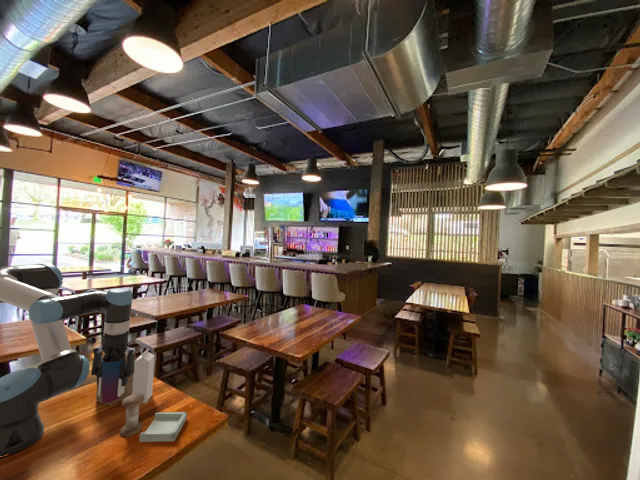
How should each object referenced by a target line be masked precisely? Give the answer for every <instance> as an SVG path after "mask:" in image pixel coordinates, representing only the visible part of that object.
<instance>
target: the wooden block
mask: <svg viewBox="0 0 640 480" xmlns="http://www.w3.org/2000/svg"><path fill="white" fill-rule="evenodd" d="M104 355H105V354H102V358H101V363H102V359H103V357H104ZM125 355H126V358H125V359H126V363H127V351H125ZM135 360H136V357H135V358H134V361H135ZM100 366H101V364H100ZM98 386H99V385H97V384H96V395H95V396H96V397H95V398H96V402H98V403H101V404H104V405H106V406H109V407H113V406H115V405H117V404H119V403H120V402H122V401H123V399H124V398H126V397H127V396H130V395H132V389H133V374H132V375H131V376H130V377H128V382H127V384H126V385H125V390H124V393H123V394H122V395H121V396H119V398H118V399H117V400H115V401H112V402H107V403H106V402H103V401H102V394H101V395H100V396H98Z"/></svg>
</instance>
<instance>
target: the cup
mask: <svg viewBox="0 0 640 480" xmlns="http://www.w3.org/2000/svg"><path fill="white" fill-rule="evenodd" d="M125 358H126V356H125V357H124V359H122V360H120V361H116V358H113V357H112V358H111V359H110V361H109V362H104V360H103V359H102V401H103V402H106V403H107V402H112V401H115V400H117V399H118V398H119V396H117V395H118V383H119V378H121V374H120V367H121V362H124V361H125Z"/></svg>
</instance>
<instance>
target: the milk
mask: <svg viewBox="0 0 640 480" xmlns="http://www.w3.org/2000/svg"><path fill="white" fill-rule="evenodd" d="M154 371H155V354H153V353H151V352H149V349H148V348H147V349H146V350H145V351H144V352H143V353H142V354H141V355H139V356H138V358H135V361H134V373H133V389H132V395H133V394H143V395H144V401H143V402H142V403H141V404H148V402H149V400H150V399H151V397H152V396H153V386H154V374H155V373H154Z"/></svg>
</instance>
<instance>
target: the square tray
mask: <svg viewBox="0 0 640 480" xmlns="http://www.w3.org/2000/svg"><path fill="white" fill-rule="evenodd" d="M187 416H188V412H187V411H172V412H171V411H169V412H167V411H166V412H165V411H164V412H163V411H162V412H161V411H157V412H155V413H154V419H153V420H152V422H151V423H150V425H149V426H148V427H147V429H146V430H145V431H143V432H142V431H140V432H139V443H143V442H145V443H147V442H150V443H151V442H153V443H155V442H156V443H157V442H175V441H176V438H177V437H178V435H179V434H180V431H181V430H182V428H183V426H184V424H185V423H186V421H187V418H188V417H187Z"/></svg>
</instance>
